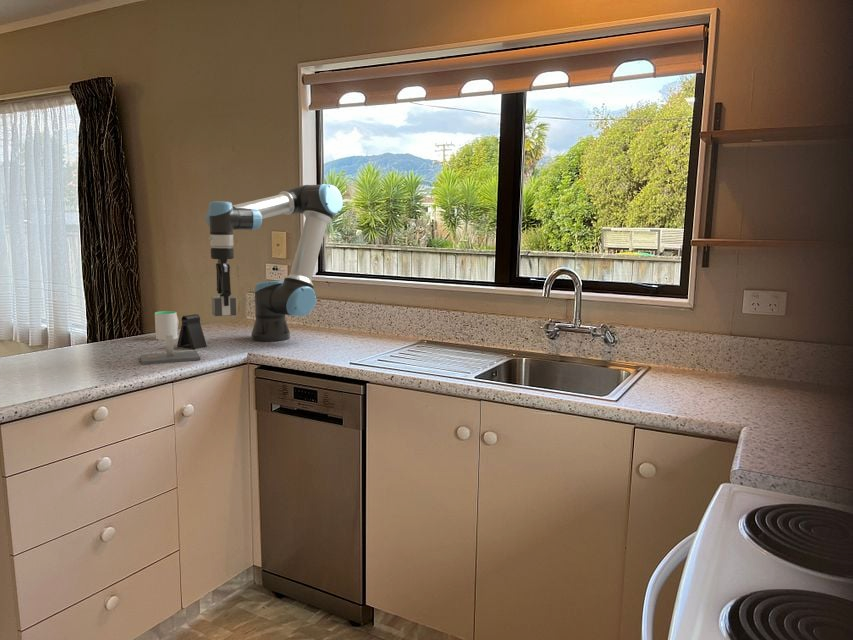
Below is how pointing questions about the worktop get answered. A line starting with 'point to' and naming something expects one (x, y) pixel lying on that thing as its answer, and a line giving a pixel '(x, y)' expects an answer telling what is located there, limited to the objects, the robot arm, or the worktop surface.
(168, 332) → the mug
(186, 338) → the phone stand
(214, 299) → the gray square frame
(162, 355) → the panel
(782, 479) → the worktop surface
